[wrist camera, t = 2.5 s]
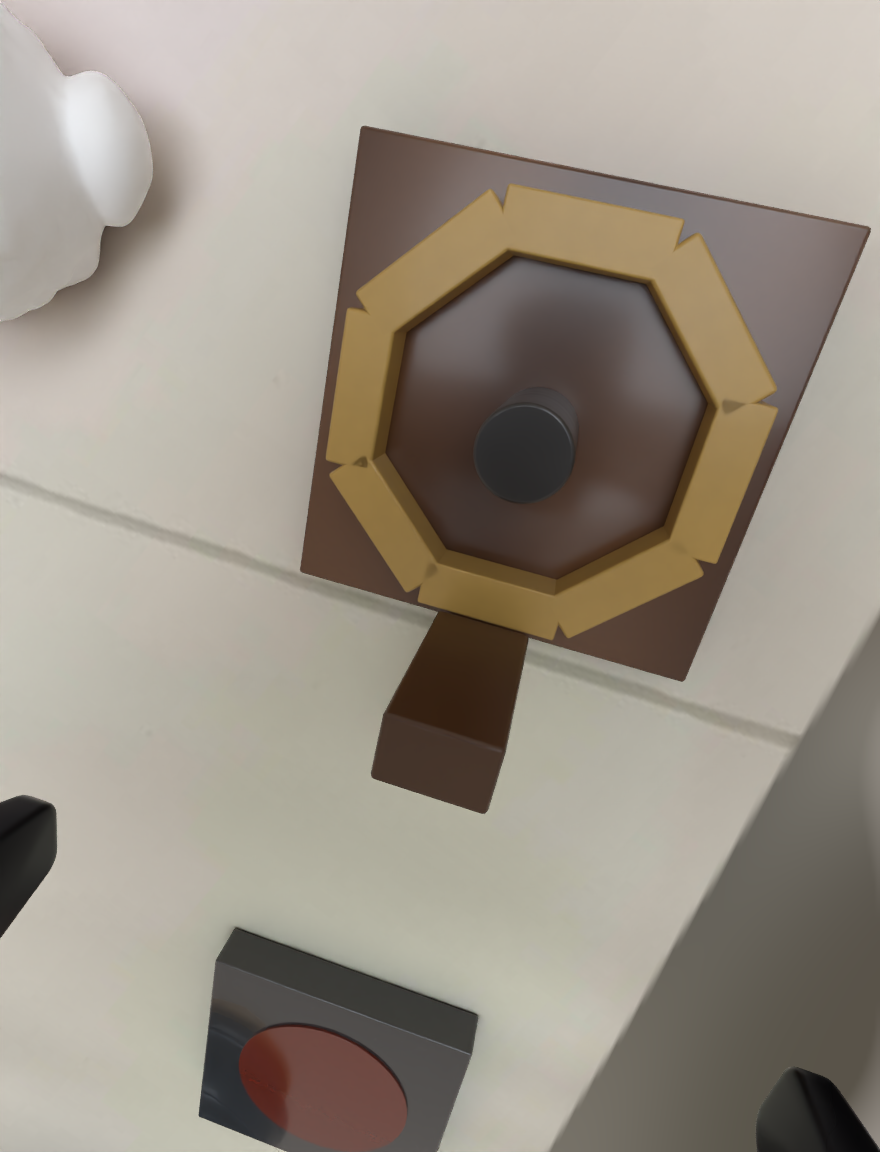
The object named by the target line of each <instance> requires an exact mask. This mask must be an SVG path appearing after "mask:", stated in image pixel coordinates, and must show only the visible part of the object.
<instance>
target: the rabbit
mask: <svg viewBox="0 0 880 1152" xmlns="http://www.w3.org/2000/svg"><path fill="white" fill-rule="evenodd" d="M152 177H153V161H152V154H151V147H150V143H149V138H148V135H147V132H146V129H145V126H144V123H143V121H142V119H141V117H140V114H139V112H138V111H137V109H136V108H135V106H134V105H133V104H132V102H131V101H130V100H129V98H128V97H127V96H126V94H125V93H124V92H123V90H122V89H121V88H120V87H119V86H118V85H117V84H116V83H115V82H114V81H113V80H112V79H111V78H110V77H108V76H107V75H105V74H103V73H101V72H97V71H85V72H81V73H78V74H75V75H73V76H65V75H63V74H62V72H61V71H60V70H59V68H58V67H57V65H56V63H55V62H54V60H53V59H52V57H51V56H50V54H49V53H48V52H47V50H46V49H45V47H44V45H43V44H42V42H41V41H40V39H39V37H38V36H37V35H36V34H35V33H34V32H33V31H32V30H31V29H30V28H29V27H27V26H26V25H24V24H23V23H22V22H21V21H19V20H18V19H17V18H16V17H15V16H14V15H13V14H12V13H11V12H10V10H9V9H8V8H7V7H6V6H5V5H4V4H3V3H2V2H0V321H6V320H12V319H16V318H18V317H19V316H21V315H23V314H25V313H26V312H27V311H28V310H34V309H38V308H40V307H42V306H43V305H44V304H47V303H49V302H50V301H51V299H52V298H53V297H54V295H55V294H56V292H57V291H58V290H60V289H63V288H65V287H67V286H71V285H74V284H76V283H78V282H81V281H83V280H86V279H87V278H89V277H90V276H91V275H92V274H93V273H94V272H95V270H96V269H97V267H98V263H99V257H100V242H101V236H102V232H103V230H104V227H105V226H116V227H123V226H126V225H128V224H129V223H130V222H131V221H132V220H133V219H134V218H135V216H136V214H137V212H138V211H139V209H140V207H141V205H142V204H143V202H144V199H145V197H146V195H147V192H148V190H149V187H150V185H151V181H152Z"/></svg>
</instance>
